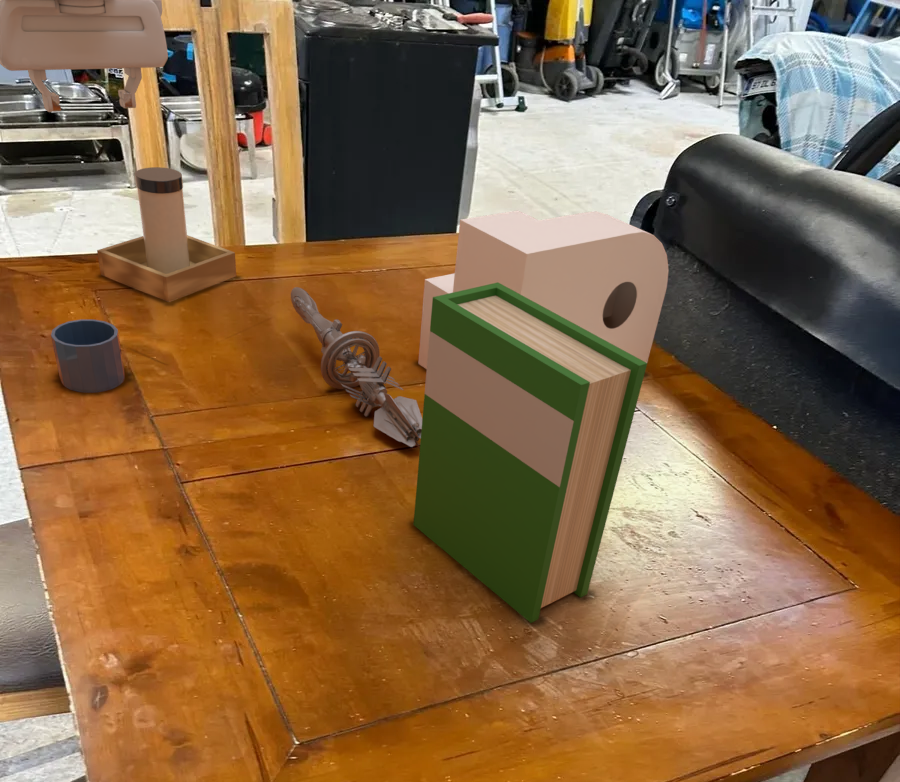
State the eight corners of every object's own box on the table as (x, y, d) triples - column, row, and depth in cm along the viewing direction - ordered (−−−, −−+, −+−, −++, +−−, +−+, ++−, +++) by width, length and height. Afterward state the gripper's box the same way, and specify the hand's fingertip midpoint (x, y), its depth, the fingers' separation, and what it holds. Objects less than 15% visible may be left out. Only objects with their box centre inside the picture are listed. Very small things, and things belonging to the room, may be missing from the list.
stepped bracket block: (558, 328, 131) (585, 181, 118) (643, 376, 122) (683, 223, 108) (418, 364, 118) (430, 204, 104) (501, 422, 108) (527, 253, 95)
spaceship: (327, 270, 118) (276, 255, 113) (461, 417, 99) (407, 406, 94) (305, 323, 122) (254, 310, 117) (429, 474, 103) (376, 467, 98)
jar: (138, 274, 130) (124, 172, 120) (170, 263, 134) (159, 164, 125) (169, 287, 127) (157, 184, 118) (200, 275, 131) (191, 175, 122)
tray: (101, 278, 129) (96, 250, 126) (170, 254, 138) (168, 228, 135) (169, 306, 124) (166, 277, 121) (236, 279, 133) (235, 252, 130)
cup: (48, 380, 105) (37, 332, 101) (96, 360, 110) (88, 313, 106) (90, 400, 103) (80, 352, 99) (137, 379, 108) (131, 332, 104)
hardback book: (586, 596, 84) (647, 363, 69) (530, 624, 81) (581, 385, 65) (468, 504, 94) (497, 282, 78) (413, 526, 90) (432, 297, 75)
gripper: (148, -27, 109) (160, 99, 118) (-30, -33, 98) (-2, 106, 107) (170, -18, 105) (180, 111, 114) (-12, -23, 95) (16, 119, 104)
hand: (91, 108), depth 111 cm, fingers open, 8 cm apart
